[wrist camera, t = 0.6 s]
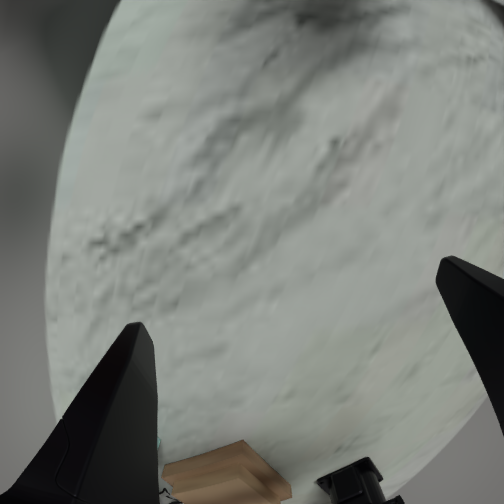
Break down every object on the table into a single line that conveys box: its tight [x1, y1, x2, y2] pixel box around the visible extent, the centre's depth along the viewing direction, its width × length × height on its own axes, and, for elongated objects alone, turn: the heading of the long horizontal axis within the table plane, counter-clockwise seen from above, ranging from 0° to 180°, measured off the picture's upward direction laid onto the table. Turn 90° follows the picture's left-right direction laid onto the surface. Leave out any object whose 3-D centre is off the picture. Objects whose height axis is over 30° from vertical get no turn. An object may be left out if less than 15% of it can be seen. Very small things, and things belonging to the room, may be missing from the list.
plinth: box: [161, 440, 292, 504], centre depth 25 cm, size 10×10×4 cm
